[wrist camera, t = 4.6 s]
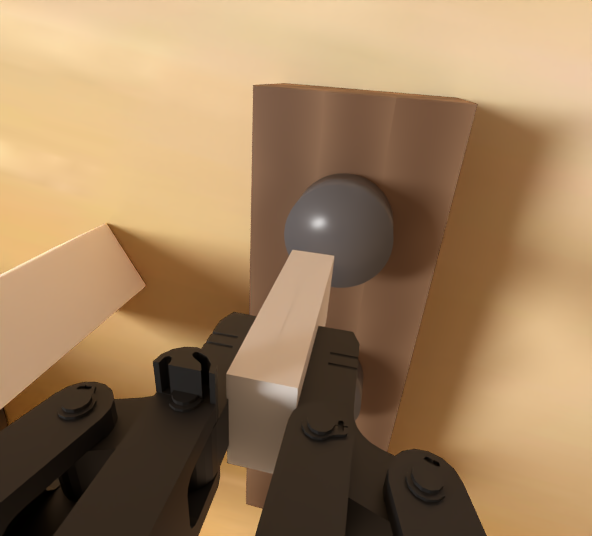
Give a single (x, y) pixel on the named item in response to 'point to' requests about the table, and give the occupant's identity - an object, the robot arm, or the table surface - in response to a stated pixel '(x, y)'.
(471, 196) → the table surface
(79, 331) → the milk
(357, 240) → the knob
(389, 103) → the mount
